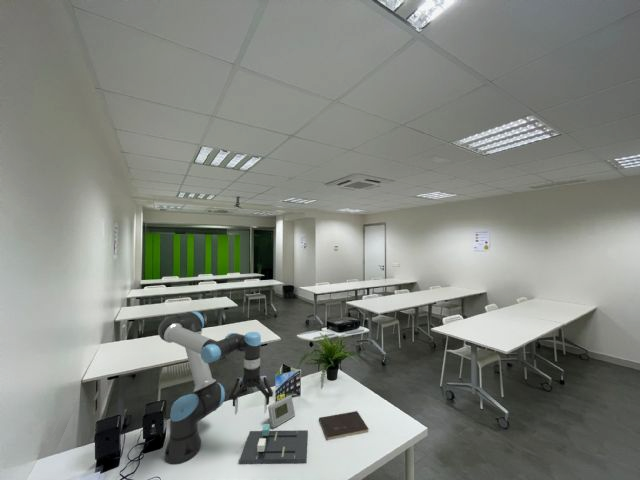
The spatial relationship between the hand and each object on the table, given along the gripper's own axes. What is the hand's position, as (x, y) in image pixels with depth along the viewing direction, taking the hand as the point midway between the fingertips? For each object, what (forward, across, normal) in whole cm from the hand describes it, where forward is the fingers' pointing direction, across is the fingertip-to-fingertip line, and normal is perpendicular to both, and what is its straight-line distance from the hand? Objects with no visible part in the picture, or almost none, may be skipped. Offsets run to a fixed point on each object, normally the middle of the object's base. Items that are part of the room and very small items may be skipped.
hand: (250, 412), depth 118 cm
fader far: (+17, +7, +7) cm, 19 cm away
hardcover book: (+19, +47, +14) cm, 53 cm away
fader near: (+16, +6, -2) cm, 18 cm away
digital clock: (+19, +14, +22) cm, 32 cm away
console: (+19, +12, +2) cm, 22 cm away
